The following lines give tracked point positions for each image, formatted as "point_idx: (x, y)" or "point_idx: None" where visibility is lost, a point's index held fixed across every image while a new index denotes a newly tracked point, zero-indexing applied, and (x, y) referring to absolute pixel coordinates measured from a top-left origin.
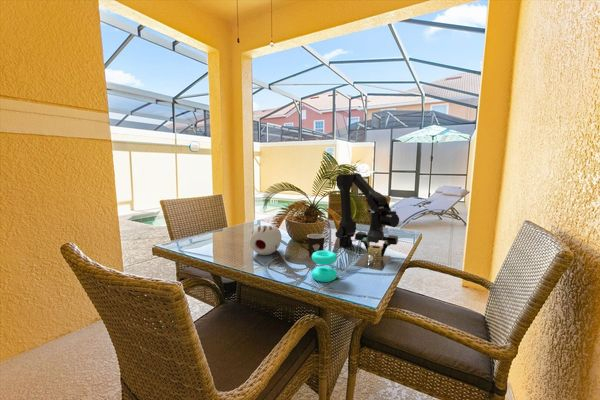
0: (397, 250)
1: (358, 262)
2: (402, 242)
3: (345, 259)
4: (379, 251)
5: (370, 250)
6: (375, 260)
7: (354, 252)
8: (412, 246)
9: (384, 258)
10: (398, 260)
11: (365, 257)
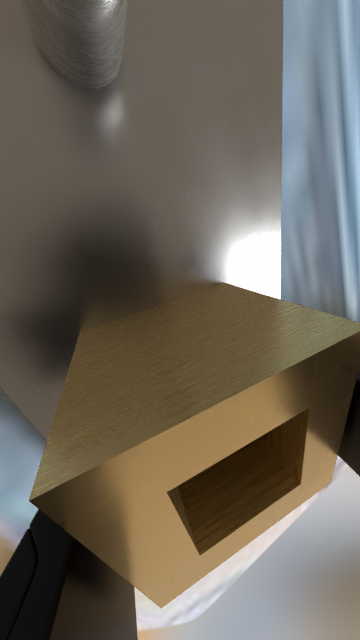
0: None
1: (262, 24)
2: (188, 603)
3: (353, 196)
4: (94, 415)
5: (276, 327)
6: (127, 285)
7: None
8: None
9: None
10: (27, 496)
11: None
